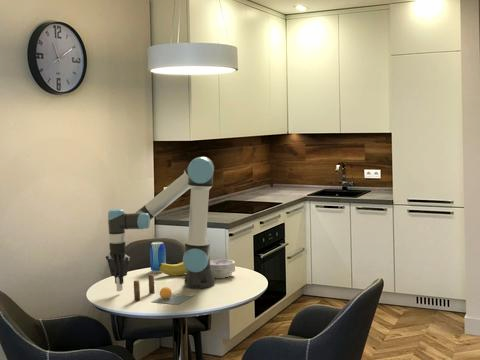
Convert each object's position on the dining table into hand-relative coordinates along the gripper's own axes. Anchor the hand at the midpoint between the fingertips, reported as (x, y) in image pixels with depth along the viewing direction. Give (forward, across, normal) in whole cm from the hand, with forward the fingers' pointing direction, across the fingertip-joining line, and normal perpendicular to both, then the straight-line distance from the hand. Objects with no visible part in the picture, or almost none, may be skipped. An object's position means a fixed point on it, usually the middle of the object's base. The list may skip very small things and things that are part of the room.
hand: (119, 290), depth 288 cm
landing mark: (+2, -29, 0) cm, 29 cm away
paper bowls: (+2, -32, -46) cm, 56 cm away
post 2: (+2, -14, -6) cm, 15 cm away
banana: (+2, -9, -43) cm, 44 cm away
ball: (-1, -26, 0) cm, 26 cm away
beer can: (+2, +7, -47) cm, 48 cm away
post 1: (+2, -14, +6) cm, 15 cm away
